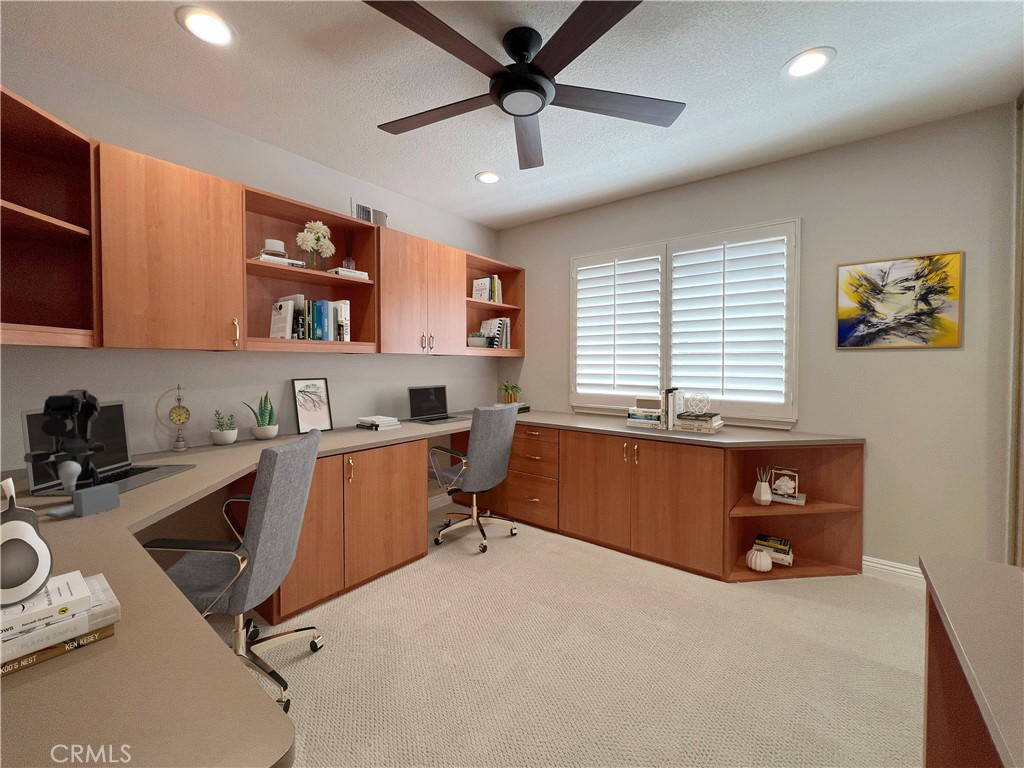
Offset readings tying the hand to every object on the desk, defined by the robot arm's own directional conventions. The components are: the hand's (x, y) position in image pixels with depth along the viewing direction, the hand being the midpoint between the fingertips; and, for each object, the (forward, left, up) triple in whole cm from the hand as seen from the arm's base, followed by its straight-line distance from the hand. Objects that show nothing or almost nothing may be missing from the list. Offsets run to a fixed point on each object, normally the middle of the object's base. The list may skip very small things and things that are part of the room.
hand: (69, 477), depth 146 cm
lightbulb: (0, 0, -6) cm, 6 cm away
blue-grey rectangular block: (+9, +3, -12) cm, 15 cm away
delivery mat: (0, 0, -12) cm, 12 cm away
